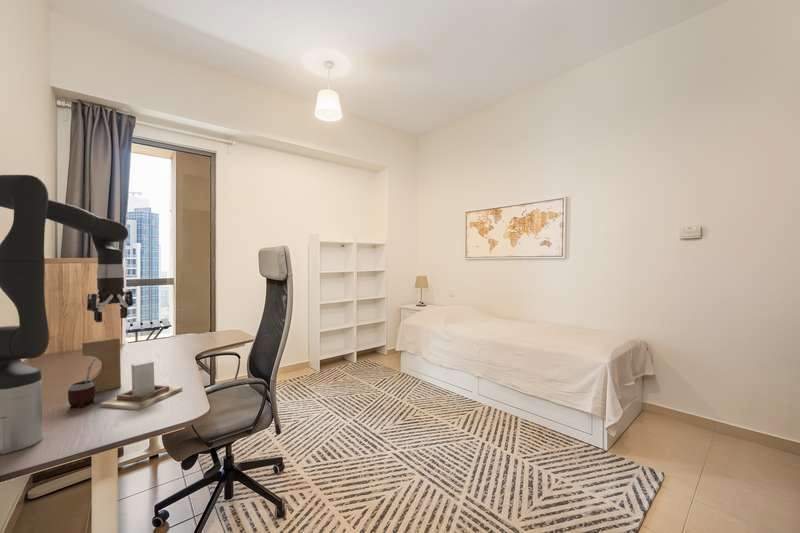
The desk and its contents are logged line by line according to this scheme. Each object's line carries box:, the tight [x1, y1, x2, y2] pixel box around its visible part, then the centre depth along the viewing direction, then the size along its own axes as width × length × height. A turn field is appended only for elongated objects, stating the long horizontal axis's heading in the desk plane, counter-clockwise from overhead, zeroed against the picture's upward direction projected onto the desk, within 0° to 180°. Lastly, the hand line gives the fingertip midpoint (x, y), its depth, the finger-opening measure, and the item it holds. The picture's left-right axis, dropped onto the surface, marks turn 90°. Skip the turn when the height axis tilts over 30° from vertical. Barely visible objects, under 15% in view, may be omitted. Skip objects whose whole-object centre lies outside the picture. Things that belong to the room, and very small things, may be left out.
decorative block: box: [81, 336, 122, 394], centre depth 132 cm, size 11×6×20 cm, turn 134°
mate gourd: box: [67, 358, 96, 409], centre depth 118 cm, size 8×8×15 cm
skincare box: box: [130, 359, 155, 396], centre depth 123 cm, size 6×4×12 cm
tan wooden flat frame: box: [100, 384, 183, 411], centre depth 123 cm, size 18×16×3 cm
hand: (111, 320), depth 123 cm, fingers open, 8 cm apart
